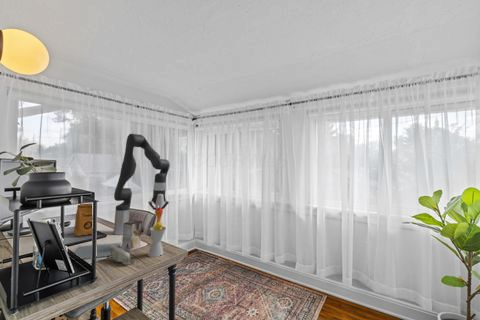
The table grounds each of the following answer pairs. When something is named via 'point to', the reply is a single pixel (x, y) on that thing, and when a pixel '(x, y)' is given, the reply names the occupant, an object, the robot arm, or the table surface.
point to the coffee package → (83, 220)
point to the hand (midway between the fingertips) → (157, 216)
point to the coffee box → (131, 235)
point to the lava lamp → (157, 230)
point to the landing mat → (102, 250)
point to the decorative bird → (119, 254)
